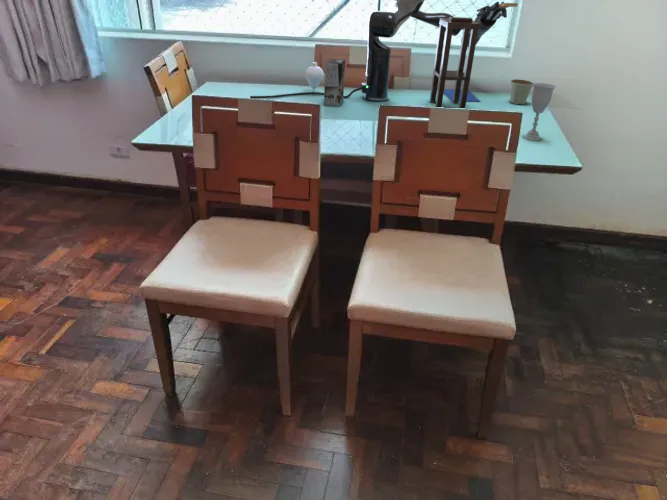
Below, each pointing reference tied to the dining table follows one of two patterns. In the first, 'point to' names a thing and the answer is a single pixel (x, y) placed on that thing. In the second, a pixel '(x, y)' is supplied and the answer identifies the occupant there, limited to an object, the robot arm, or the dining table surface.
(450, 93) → the cloth
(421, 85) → the dining table surface
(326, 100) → the coffee box
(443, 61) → the stand
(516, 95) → the flower pot
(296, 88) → the dining table surface
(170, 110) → the dining table surface
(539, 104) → the chalice
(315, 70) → the spinning top
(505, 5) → the spoon
